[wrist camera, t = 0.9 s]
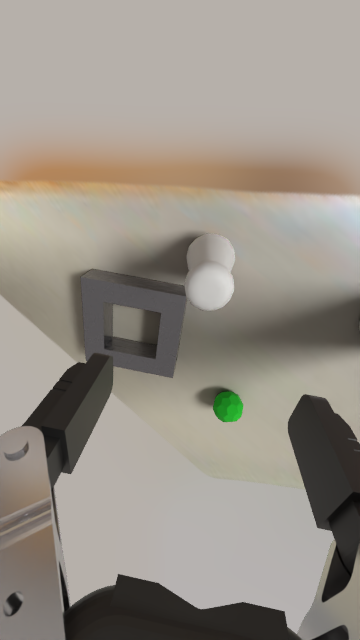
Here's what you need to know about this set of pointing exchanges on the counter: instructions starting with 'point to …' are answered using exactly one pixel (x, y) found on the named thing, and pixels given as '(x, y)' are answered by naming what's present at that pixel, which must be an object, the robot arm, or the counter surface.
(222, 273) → the salt shaker
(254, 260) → the counter surface
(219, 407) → the polyhedron
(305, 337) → the counter surface
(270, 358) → the counter surface
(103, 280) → the collar
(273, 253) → the counter surface
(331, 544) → the robot arm
